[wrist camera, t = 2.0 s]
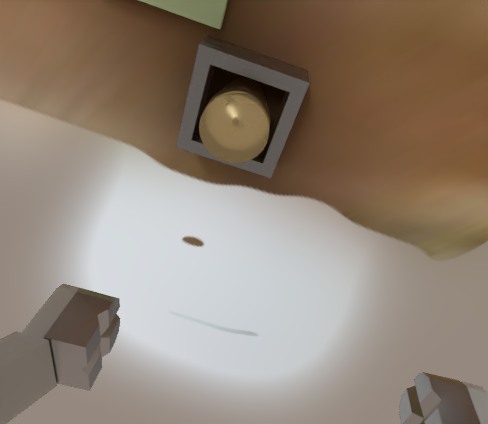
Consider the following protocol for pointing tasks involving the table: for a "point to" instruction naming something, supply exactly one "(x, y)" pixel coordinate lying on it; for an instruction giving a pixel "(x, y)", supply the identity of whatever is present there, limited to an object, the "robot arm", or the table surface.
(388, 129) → the table surface
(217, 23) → the pad
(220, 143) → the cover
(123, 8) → the table surface
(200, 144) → the box
